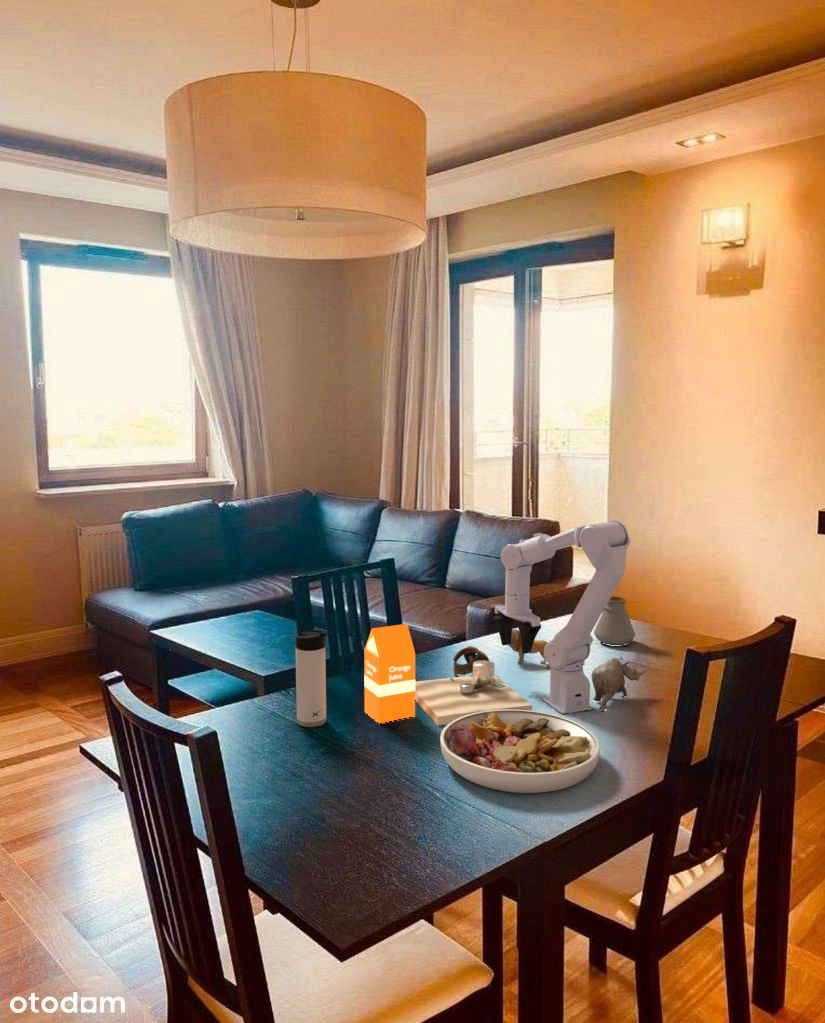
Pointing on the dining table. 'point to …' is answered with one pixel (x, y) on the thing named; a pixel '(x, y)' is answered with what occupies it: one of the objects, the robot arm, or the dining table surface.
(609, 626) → the coffee pot
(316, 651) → the travel mug
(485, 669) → the beige shiny cylinders
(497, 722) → the bowl
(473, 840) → the dining table surface
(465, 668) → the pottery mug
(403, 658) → the orange juice
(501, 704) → the wooden board
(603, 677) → the rhino figurine
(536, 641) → the lion figurine
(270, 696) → the dining table surface
